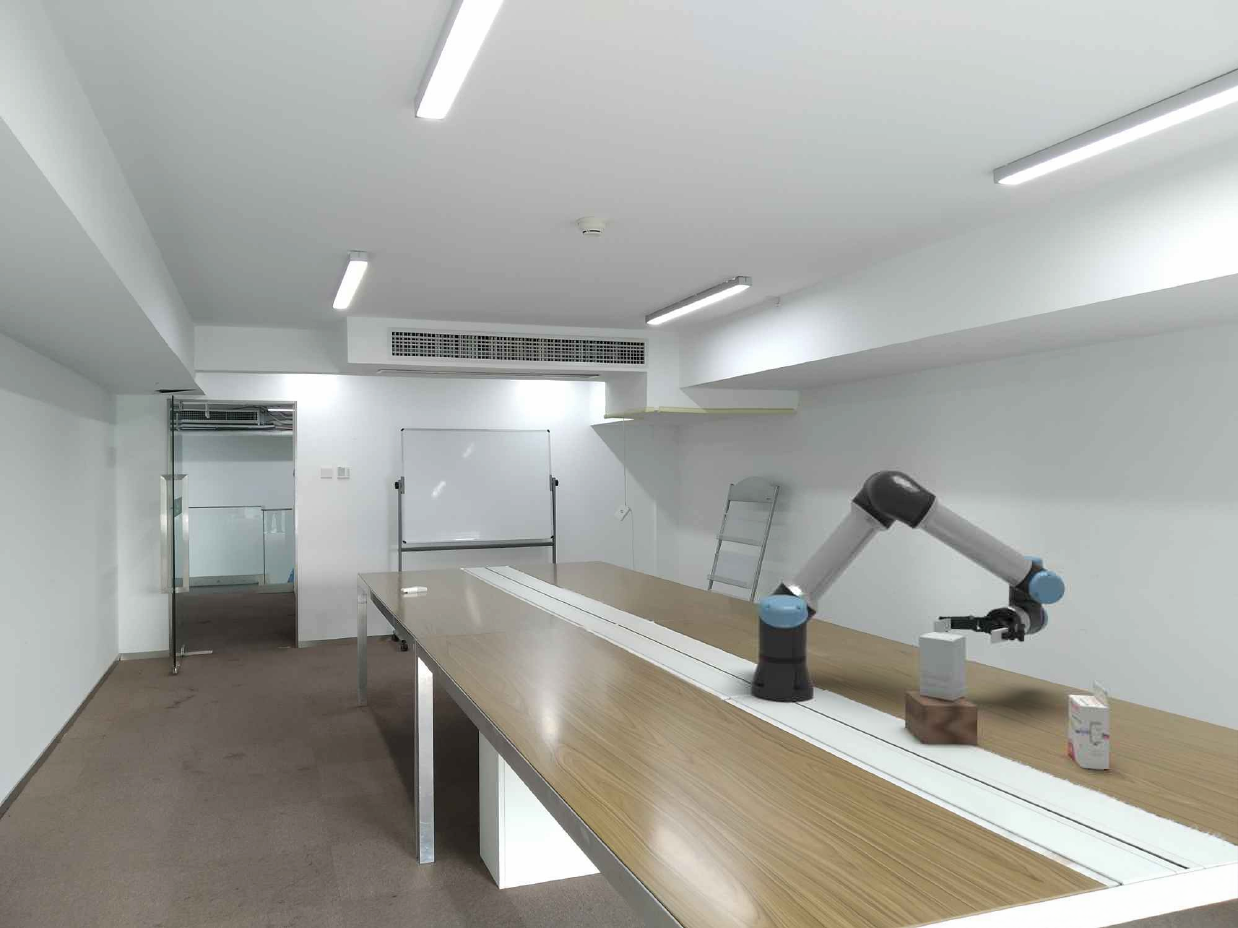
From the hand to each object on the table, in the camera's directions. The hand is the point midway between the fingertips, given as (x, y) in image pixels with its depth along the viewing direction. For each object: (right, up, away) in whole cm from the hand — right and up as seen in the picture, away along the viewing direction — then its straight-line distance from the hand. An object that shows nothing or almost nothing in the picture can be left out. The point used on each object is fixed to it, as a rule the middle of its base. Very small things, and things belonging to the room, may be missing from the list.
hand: (962, 632), depth 190 cm
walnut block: (-11, -19, -15) cm, 26 cm away
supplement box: (-9, -11, -12) cm, 19 cm away
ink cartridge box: (+12, -19, -30) cm, 37 cm away
